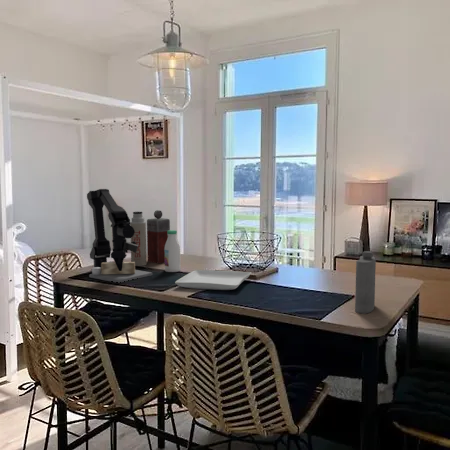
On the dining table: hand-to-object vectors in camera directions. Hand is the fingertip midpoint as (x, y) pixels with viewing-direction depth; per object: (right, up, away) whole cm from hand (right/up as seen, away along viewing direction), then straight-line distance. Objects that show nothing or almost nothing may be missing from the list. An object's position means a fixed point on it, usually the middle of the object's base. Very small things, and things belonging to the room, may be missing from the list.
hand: (120, 270), depth 216 cm
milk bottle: (+22, -2, +16) cm, 28 cm away
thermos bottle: (+2, 0, +33) cm, 33 cm away
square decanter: (+11, +1, +43) cm, 44 cm away
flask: (+97, -8, -50) cm, 110 cm away
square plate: (+44, -5, -12) cm, 45 cm away
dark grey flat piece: (-1, -3, +5) cm, 6 cm away
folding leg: (-2, -1, +3) cm, 4 cm away
